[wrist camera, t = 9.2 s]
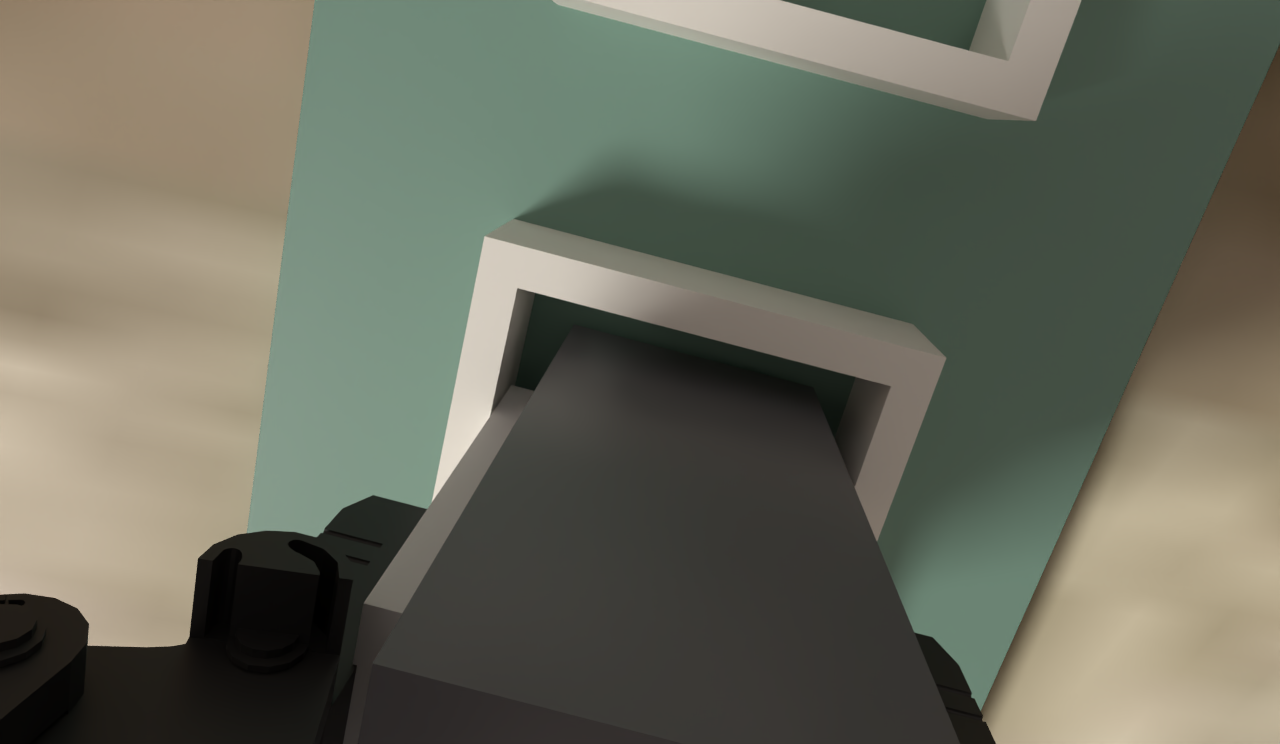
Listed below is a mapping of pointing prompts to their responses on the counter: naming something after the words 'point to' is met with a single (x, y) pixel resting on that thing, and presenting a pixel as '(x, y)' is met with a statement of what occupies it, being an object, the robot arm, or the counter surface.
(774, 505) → the plug
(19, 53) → the counter surface
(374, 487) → the board
